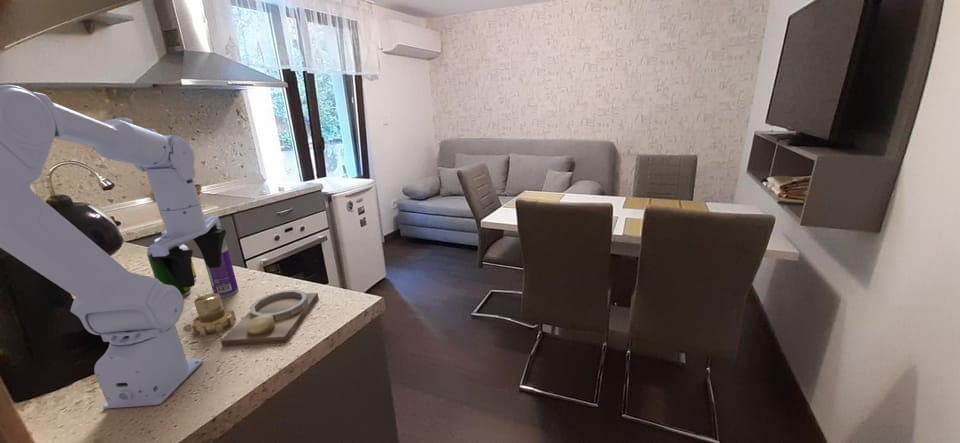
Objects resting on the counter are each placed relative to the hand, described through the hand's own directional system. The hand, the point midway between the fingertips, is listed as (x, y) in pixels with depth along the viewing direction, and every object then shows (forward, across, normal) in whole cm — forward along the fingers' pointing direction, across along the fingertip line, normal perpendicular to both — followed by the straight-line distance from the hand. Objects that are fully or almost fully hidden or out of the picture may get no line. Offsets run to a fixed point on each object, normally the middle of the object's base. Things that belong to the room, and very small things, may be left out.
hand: (201, 276), depth 69 cm
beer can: (+11, -13, -17) cm, 24 cm away
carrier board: (+10, -1, +11) cm, 15 cm away
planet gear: (+10, +1, 0) cm, 11 cm away
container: (+11, -13, -6) cm, 18 cm away
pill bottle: (+11, -20, -21) cm, 31 cm away
